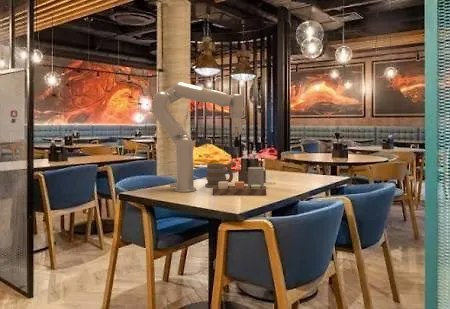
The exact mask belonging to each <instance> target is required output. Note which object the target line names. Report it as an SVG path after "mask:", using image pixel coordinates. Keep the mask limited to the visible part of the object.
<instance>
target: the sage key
mask: <svg viewBox="0 0 450 309" xmlns="http://www.w3.org/2000/svg"><path fill="white" fill-rule="evenodd" d="M251 189H260V185H251Z"/></svg>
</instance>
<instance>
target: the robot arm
mask: <svg viewBox="0 0 450 309" xmlns="http://www.w3.org/2000/svg"><path fill="white" fill-rule="evenodd" d="M182 98H183V99H186V100H191V101H195V102H199V103H208V104H213V105H217V106H219V107H221V108H227V107H230V108H229V112H230V119H231V135H232V136H234V137H233V138H234V140H233V147H234V148H240V147H241V144H240V143H241V140H240V135H241V134H242V119H244V96H243V94H242V93H241V94H240V93H232V94H228V93H227V92H223V91H220V90H219V91H218V90H214V89H210V88H206V87H204V86H199V85H196V84H195V85H194V84H191V83H187V82H183V81H177V82H174V84H173V86H171V87H169V88H167V89H165V90H163V91H161V90H160V91H157V92H156V93H155V94H154V96H153V98H152V99H151V100H152V101H151V110H152V113H153V114H152V115H153V116H154V118H155V119H156V120H157V121H158V123H159V124H160V126H161V127H162V129H163V130H164V131H165V134H166V135H167V136H168V137H169V138H170V139H171V140H172V141H173V143H174V144H175V150H176V152H175V153H176V182H175V183H169V187H170V188H174V192H178V193H190V192H195V191H196V190H197V187H195V186H194V142H193V139H192V138H191V137H190V135H189V134H188V133H187V131H186V130H185V129H184V127H183V126H182V124H181V123H180V122H178V120H176V118H175V117H174V116H173V114H172V112H171V111H170V110H169V109H168V106H169V105H171V104H173V103H175V102H177V101H178V100H180V99H182Z"/></svg>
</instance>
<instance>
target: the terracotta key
mask: <svg viewBox="0 0 450 309" xmlns="http://www.w3.org/2000/svg"><path fill="white" fill-rule="evenodd" d="M234 186H235V189H244V186H245V181H244V180H243V181H241V180H240V181H239V180H238V181H236V180H235V181H234Z"/></svg>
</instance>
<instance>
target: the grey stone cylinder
mask: <svg viewBox="0 0 450 309" xmlns="http://www.w3.org/2000/svg"><path fill="white" fill-rule="evenodd" d="M264 168H265V167H262V166H249V167H247V186H251V185H260V186H265V174H264V172H265V169H264Z"/></svg>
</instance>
